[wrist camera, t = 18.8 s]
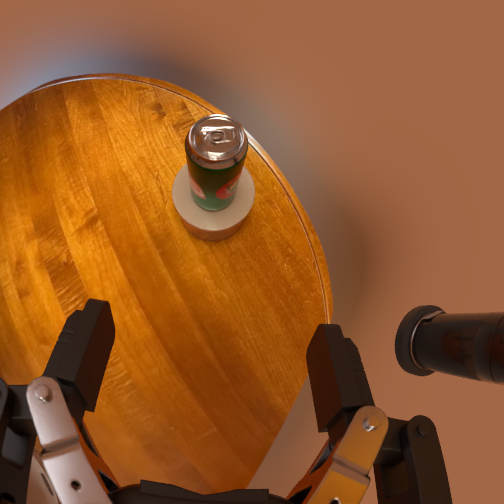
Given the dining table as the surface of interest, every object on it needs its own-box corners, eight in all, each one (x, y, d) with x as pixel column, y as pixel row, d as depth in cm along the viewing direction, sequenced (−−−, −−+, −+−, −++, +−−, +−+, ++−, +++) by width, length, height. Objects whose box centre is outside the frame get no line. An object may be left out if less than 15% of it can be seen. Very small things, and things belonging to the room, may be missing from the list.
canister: (259, 198, 41) (269, 178, 35) (224, 256, 39) (227, 246, 33) (202, 165, 41) (201, 140, 34) (164, 220, 39) (156, 203, 32)
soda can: (187, 175, 33) (179, 115, 22) (230, 167, 34) (241, 106, 22) (195, 216, 33) (189, 170, 21) (240, 207, 33) (257, 158, 22)
